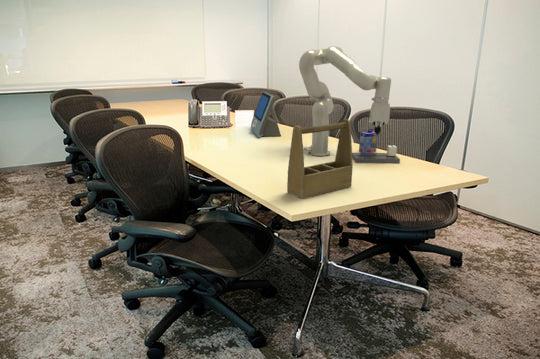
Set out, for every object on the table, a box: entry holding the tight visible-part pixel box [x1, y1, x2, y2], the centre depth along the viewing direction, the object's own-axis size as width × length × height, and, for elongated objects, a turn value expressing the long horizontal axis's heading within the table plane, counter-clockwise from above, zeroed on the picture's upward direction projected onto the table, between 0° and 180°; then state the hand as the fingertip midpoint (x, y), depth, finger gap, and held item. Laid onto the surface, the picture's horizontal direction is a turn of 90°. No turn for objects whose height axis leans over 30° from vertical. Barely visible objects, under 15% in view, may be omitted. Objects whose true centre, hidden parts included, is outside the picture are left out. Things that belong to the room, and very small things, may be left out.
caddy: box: [286, 118, 354, 200], centre depth 178 cm, size 29×11×30 cm, turn 126°
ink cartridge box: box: [358, 128, 379, 153], centre depth 251 cm, size 10×6×14 cm, turn 117°
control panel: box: [352, 152, 401, 164], centre depth 233 cm, size 24×14×3 cm, turn 89°
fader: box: [386, 144, 398, 156], centre depth 232 cm, size 4×4×5 cm
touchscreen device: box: [250, 91, 282, 139], centre depth 303 cm, size 35×20×30 cm, turn 11°
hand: (377, 133), depth 230 cm, fingers closed
